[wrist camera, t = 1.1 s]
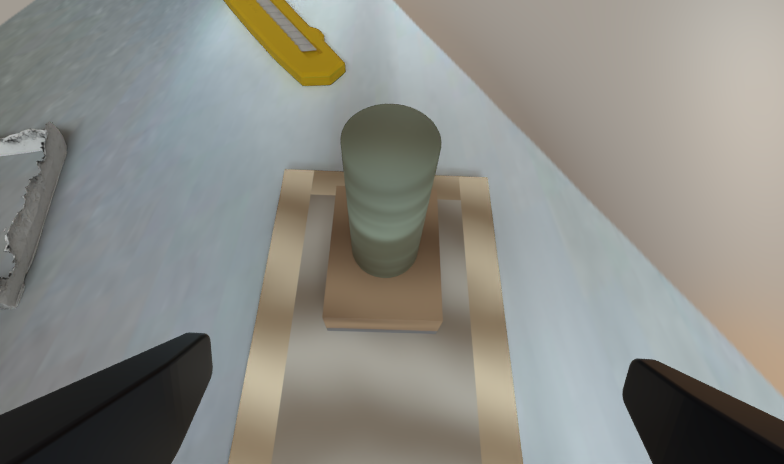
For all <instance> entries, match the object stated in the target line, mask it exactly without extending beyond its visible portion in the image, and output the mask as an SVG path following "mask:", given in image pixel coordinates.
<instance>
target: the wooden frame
mask: <svg viewBox="0 0 784 464" xmlns="http://www.w3.org/2000/svg"><path fill="white" fill-rule="evenodd" d="M336 186H345V179H344V172H342V171H317V170H293V169H285V171H284V176H283V182H282V187H281V192H280V197H279V202H278V208H277V213H276V218H275V223H274V228H273V233H272V239H271V244H270V249H269V254H268V259H267V265H266V270H265V275H264V280H263V285H262V291H261V296H260V301H259V306H258V311H257V317H256V322H255V327H254V332H253V337H252V342H251V348H250V353H249V358H248V363H247V368H246V374H245V379H244V384H243V389H242V394H241V400H240V405H239V410H238V415H237V420H236V426H235V431H234V436H233V441H232V446H231V451H230V457H229V462H228V464H523V459H522V451H521V443H520V435H519V427H518V419H517V411H516V403H515V395H514V387H513V378H512V370H511V362H510V354H509V346H508V338H507V330H506V322H505V314H504V306H503V298H502V290H501V282H500V274H499V266H498V258H497V250H496V242H495V234H494V226H493V218H492V210H491V202H490V194H489V186H488V178H487V177H464V176H440V175H435V177H434V182H433V186H432V189H433V190H437V202H438V224H439V246H440V268H441V291H442V313H443V322H442V324H441V325H440V327H439V329H438V331H437V333H436V334H420V333H387V332H354V331H327V328H326V326H325V323H324V320H323V318H322V315H323V306H324V297H325V287H326V278H327V269H328V260H329V251H330V241H331V232H332V223H333V214H334V205H335V195H336Z"/></svg>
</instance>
